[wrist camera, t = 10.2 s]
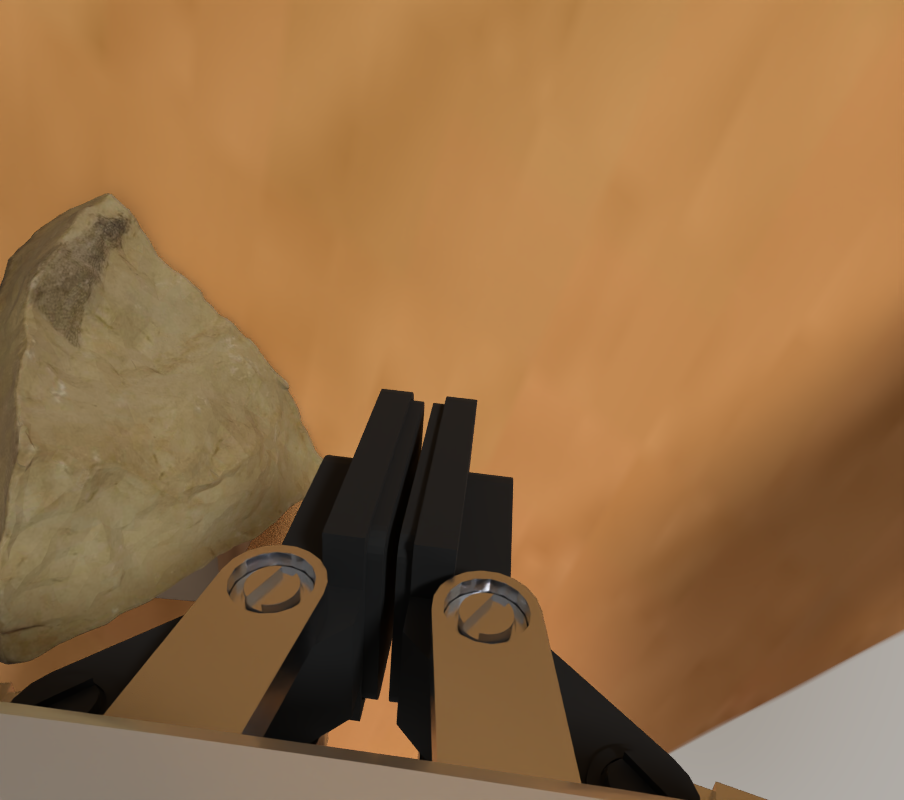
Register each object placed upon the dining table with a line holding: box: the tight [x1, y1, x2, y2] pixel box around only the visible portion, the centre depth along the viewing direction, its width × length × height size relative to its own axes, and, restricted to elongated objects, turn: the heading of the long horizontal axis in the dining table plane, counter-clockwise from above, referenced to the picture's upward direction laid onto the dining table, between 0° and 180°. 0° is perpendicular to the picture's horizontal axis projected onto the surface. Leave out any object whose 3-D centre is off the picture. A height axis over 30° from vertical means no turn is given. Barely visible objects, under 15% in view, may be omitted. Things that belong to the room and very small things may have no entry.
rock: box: [0, 193, 323, 664], centre depth 19 cm, size 11×9×10 cm
